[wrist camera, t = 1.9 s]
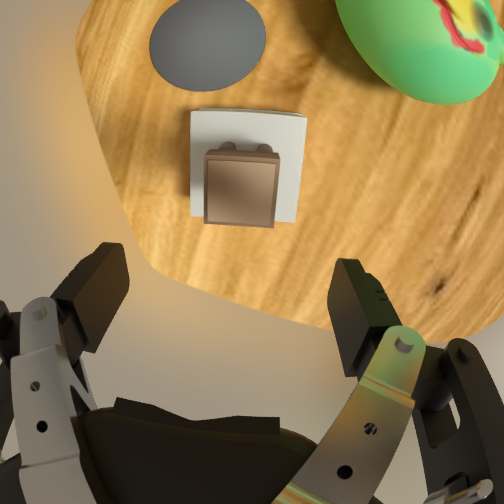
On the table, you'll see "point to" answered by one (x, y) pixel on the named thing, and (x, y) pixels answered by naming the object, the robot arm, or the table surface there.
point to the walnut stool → (241, 186)
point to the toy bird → (427, 45)
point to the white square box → (249, 149)
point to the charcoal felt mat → (207, 43)
